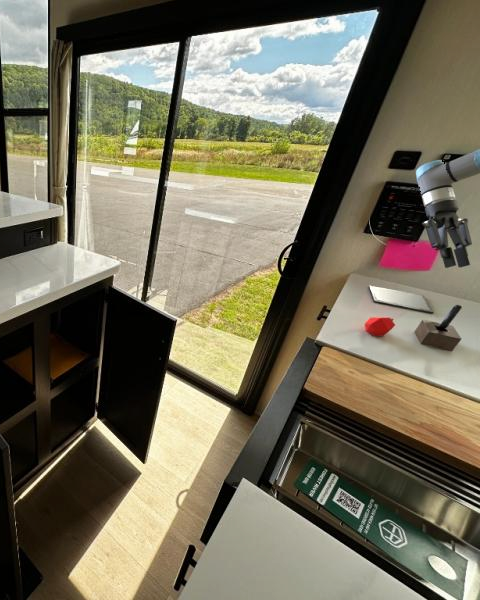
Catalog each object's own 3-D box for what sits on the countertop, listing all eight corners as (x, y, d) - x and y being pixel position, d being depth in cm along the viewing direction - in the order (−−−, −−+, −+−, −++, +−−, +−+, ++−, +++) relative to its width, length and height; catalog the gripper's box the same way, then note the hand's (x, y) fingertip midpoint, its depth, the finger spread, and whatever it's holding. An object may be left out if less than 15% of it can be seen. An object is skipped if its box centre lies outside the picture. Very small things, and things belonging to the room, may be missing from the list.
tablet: (422, 296, 124) (424, 295, 124) (432, 313, 115) (434, 312, 114) (368, 286, 132) (369, 285, 131) (373, 302, 122) (374, 300, 122)
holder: (444, 337, 104) (453, 325, 101) (451, 351, 99) (461, 339, 96) (414, 331, 107) (422, 319, 104) (420, 344, 102) (429, 331, 99)
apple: (376, 326, 102) (402, 317, 101) (358, 317, 108) (383, 308, 107) (377, 343, 104) (403, 334, 103) (360, 333, 110) (384, 325, 109)
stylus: (434, 340, 103) (461, 304, 96) (436, 343, 102) (464, 306, 95) (428, 338, 104) (454, 303, 97) (429, 341, 103) (456, 305, 96)
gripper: (452, 208, 116) (469, 269, 111) (405, 209, 116) (420, 270, 112) (476, 197, 109) (496, 262, 104) (426, 199, 109) (444, 263, 104)
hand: (457, 266), depth 108 cm, fingers open, 4 cm apart
